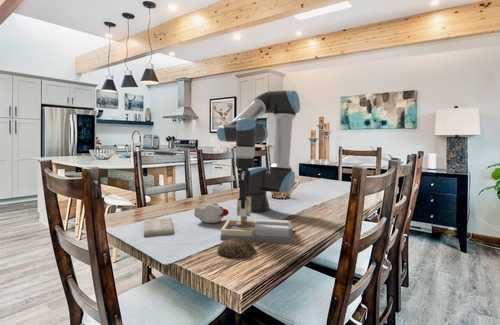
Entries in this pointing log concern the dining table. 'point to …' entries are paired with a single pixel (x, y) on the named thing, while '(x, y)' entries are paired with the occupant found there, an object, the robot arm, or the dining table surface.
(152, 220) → the washcloth
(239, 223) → the maple peg
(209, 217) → the white and red figurine
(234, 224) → the keyhole board
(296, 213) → the dining table surface
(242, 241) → the bread roll
